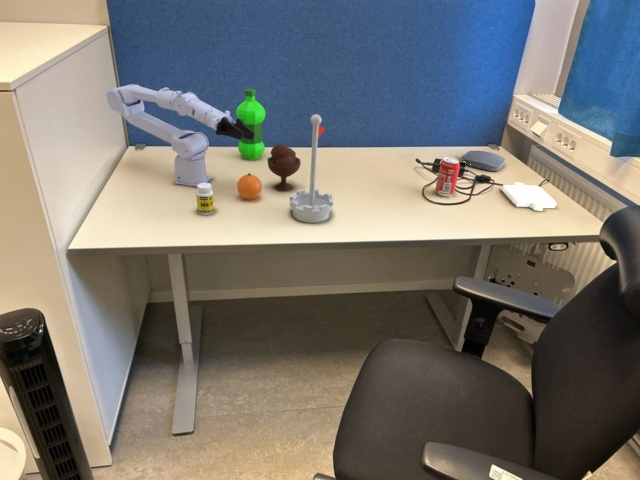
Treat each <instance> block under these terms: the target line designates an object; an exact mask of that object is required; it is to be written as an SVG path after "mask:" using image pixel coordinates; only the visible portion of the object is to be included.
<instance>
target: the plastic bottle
mask: <svg viewBox="0 0 640 480" xmlns="http://www.w3.org/2000/svg"><path fill="white" fill-rule="evenodd" d="M243 92H244V93H243V94H244V95H243V96H245V100H244V101H242V103H240V104H239V105H238V106H237V107H236V110H235V116H236V119H237V118H240V119H241V120H243V122H244V124H245V125H246V126H247V127H248V128H249V129H250V130H251V131H253V132H254V133H255V136H254V138H253V140H249V139H246V138H244V137H242V139H241V140H240V139H239V140H240V141H239V143H238V145H237V150H238V152H239V153H240V155H242V156H243V157H244V159H246V160H257V159H259V158H260V157H261V156H262V155H263V153H264V151H265V148H266V147H265V144H264V141H263V121H264V120H265V119H266V109H265V107H263V105H262V104H260V102H259V101H257V100H256V97H257V94H258V93H257V89H255V88H244V89H243Z"/></svg>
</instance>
